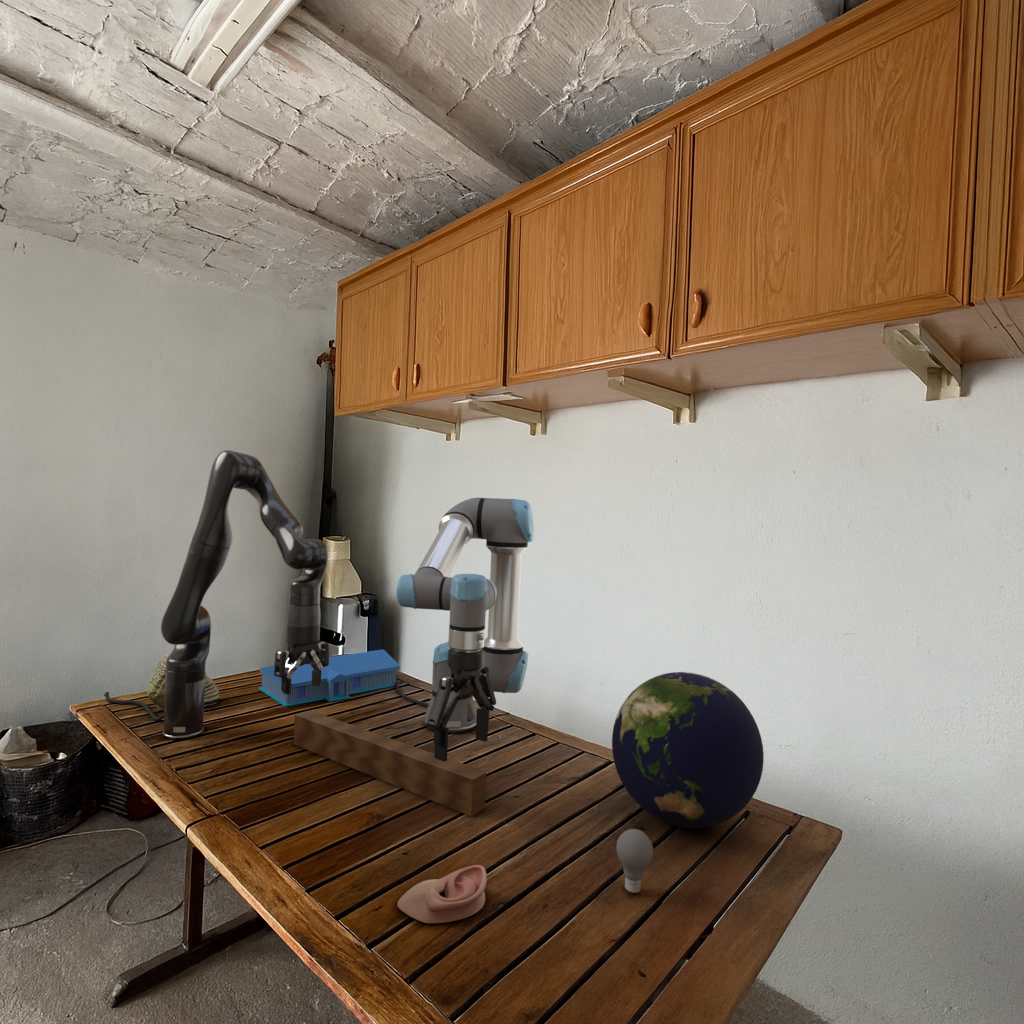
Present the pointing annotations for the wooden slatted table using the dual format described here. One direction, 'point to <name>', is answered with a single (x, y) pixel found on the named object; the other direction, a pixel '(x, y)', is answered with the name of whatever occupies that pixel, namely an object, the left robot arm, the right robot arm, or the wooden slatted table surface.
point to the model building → (334, 678)
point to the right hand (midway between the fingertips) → (461, 749)
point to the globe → (687, 750)
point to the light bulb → (634, 857)
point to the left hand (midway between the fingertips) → (301, 689)
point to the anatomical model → (446, 896)
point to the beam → (393, 762)
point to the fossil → (158, 687)
